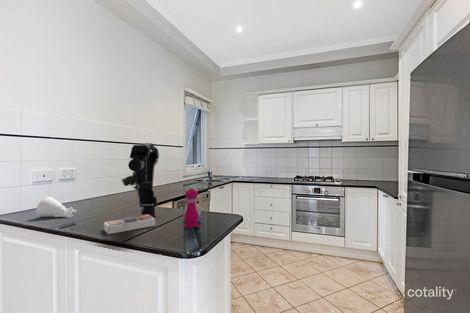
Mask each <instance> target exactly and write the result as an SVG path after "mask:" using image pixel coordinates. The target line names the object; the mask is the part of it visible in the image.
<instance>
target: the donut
mask: <svg viewBox="0 0 470 313" xmlns="http://www.w3.org/2000/svg"><path fill="white" fill-rule="evenodd" d="M186 210H187V203H186V204H185V206H184V208H183V213H184V215H185V213H186ZM196 210H197V212H198V215H199V217H200V215H201V212H202V211H201V206H200V205H199V204H198V203H197V202H196Z"/></svg>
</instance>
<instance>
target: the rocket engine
mask: <svg viewBox="0 0 470 313" xmlns="http://www.w3.org/2000/svg"><path fill="white" fill-rule="evenodd" d="M35 211H36V212H35V213H36V215H37V216H38V217H41V218H50V217H52V218H53V217H55V218H60V217H63V218H67V219H71V217H73V216H74V215H73V213H77V212H78V211H77V209H74V207H73V206H69V208H68V207H66V206H65V205H63V204H62V203H61V202H59V201H58V200H56V199H55V198H53V197H51V196H47V197H45V198H43V199H42V200H40V201H39V203H38V204H37V206H36V210H35Z"/></svg>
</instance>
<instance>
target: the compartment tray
mask: <svg viewBox="0 0 470 313" xmlns="http://www.w3.org/2000/svg"><path fill="white" fill-rule="evenodd" d="M135 217H136V216H135ZM136 218H137V221H136V222H130V223H125V222H124V218H123V219H119V220H117V219H116V220H110V221H103V230H104V231H105V233H106V234H108V235H111V234H116V233H117V234H118V233H121V232H128V231H132V230H134V231H135V230H138V229H144V228H149V227H155V226H156V224H157V223H156V222H157V221H156V220H157V219H156V217H151V219H149V220H142V221H141V220H139V216H137V217H136ZM116 221H119V222H121V224H118V225H111V226H109V225H108V223H109V222H116Z"/></svg>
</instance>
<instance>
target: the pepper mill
mask: <svg viewBox="0 0 470 313" xmlns="http://www.w3.org/2000/svg"><path fill="white" fill-rule="evenodd" d="M198 196H199V194H198V191H197V190H196V189H195V188H194V186H193V185H190V186H189V188H188V189H187V190H186V191H185V197H186V204H187V210H186V213H185V214H184V215H183V220H184V221H185V222H184V227H185V228H186V227H187V229H194V228H193V227H195V228H197V227H198V226H199V222H198V220H200V216H199V215H198V212H197V210H196V203H197V197H198Z"/></svg>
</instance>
